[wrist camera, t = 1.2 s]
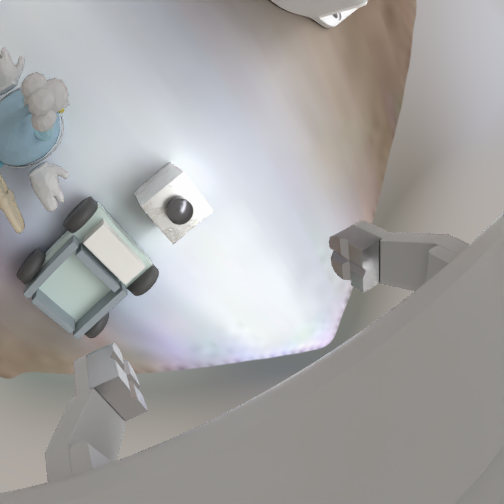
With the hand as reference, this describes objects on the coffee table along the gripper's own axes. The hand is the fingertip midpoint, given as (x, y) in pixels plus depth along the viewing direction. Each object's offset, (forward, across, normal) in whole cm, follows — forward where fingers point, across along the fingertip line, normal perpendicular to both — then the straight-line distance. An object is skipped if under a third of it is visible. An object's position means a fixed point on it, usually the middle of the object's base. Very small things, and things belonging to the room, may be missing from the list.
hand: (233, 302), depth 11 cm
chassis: (+26, +9, +7) cm, 29 cm away
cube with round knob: (+26, -2, +3) cm, 26 cm away
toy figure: (+26, +8, -9) cm, 29 cm away
